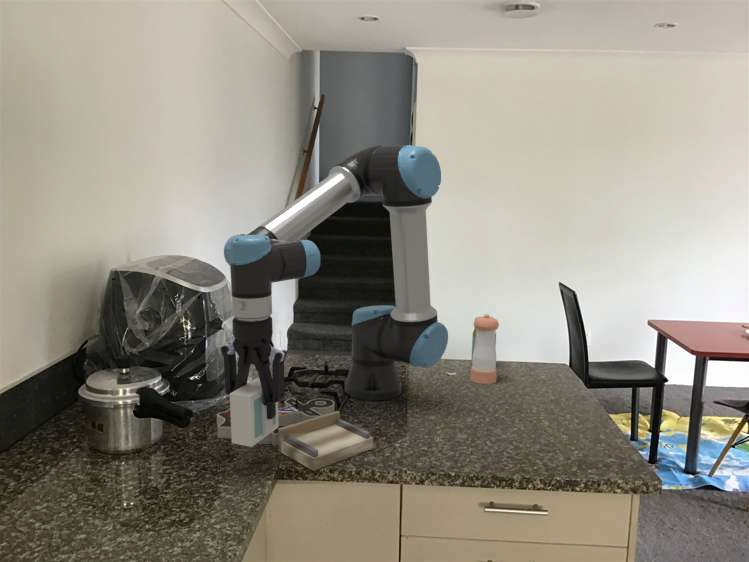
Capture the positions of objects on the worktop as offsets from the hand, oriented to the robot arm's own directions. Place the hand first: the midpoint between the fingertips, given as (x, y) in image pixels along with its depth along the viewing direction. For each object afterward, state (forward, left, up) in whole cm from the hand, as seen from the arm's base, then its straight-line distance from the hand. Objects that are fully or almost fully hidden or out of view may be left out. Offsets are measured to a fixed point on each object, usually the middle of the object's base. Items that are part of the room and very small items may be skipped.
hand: (255, 430), depth 131 cm
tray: (+3, +15, -7) cm, 17 cm away
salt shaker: (-5, +79, -8) cm, 80 cm away
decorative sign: (-16, +16, -8) cm, 24 cm away
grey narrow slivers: (-13, +89, -8) cm, 91 cm away
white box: (0, 0, -1) cm, 1 cm away
